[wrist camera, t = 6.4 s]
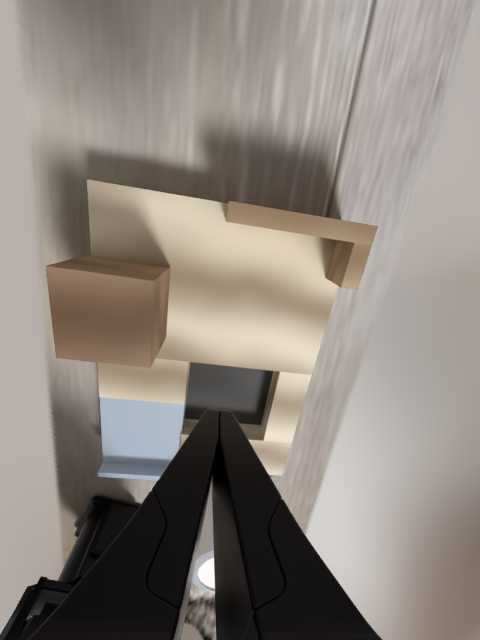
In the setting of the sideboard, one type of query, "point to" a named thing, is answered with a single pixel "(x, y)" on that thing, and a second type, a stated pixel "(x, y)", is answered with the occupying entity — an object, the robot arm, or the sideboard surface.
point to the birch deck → (230, 303)
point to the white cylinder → (206, 553)
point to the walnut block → (108, 310)
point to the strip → (139, 437)
